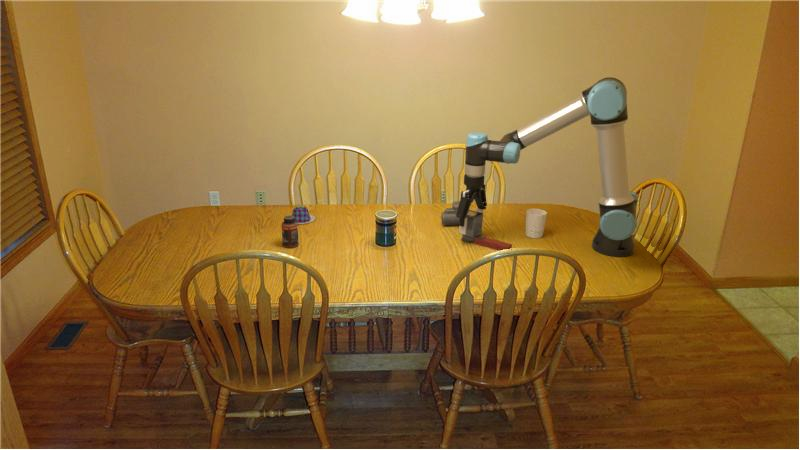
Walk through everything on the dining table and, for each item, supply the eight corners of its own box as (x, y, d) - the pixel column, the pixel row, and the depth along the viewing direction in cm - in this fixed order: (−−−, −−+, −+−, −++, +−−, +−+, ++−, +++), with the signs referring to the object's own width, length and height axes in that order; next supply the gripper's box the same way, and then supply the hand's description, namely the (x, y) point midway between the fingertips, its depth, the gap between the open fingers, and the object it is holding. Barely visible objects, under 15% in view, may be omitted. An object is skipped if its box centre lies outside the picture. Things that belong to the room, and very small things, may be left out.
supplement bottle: (301, 243, 221) (300, 215, 217) (293, 249, 216) (292, 220, 212) (287, 241, 223) (286, 213, 219) (279, 247, 218) (277, 218, 214)
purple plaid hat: (316, 215, 251) (315, 203, 249) (314, 225, 240) (314, 213, 238) (287, 215, 250) (287, 203, 248) (284, 225, 239) (284, 213, 237)
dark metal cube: (481, 232, 227) (483, 213, 224) (473, 237, 222) (474, 217, 219) (467, 228, 231) (468, 209, 228) (458, 233, 226) (460, 213, 223)
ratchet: (512, 249, 220) (514, 232, 218) (505, 254, 216) (506, 236, 213) (467, 236, 231) (468, 219, 229) (459, 240, 227) (460, 223, 224)
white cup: (544, 240, 229) (547, 216, 226) (523, 238, 231) (526, 214, 227) (543, 232, 236) (546, 209, 233) (523, 230, 238) (526, 207, 234)
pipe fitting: (469, 220, 246) (468, 198, 242) (472, 229, 239) (471, 206, 234) (441, 223, 247) (439, 200, 242) (442, 231, 239) (441, 209, 235)
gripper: (481, 166, 229) (477, 218, 237) (448, 179, 211) (445, 235, 219) (498, 169, 224) (494, 223, 232) (466, 183, 207) (462, 240, 215)
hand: (470, 229), depth 226 cm, fingers open, 11 cm apart
